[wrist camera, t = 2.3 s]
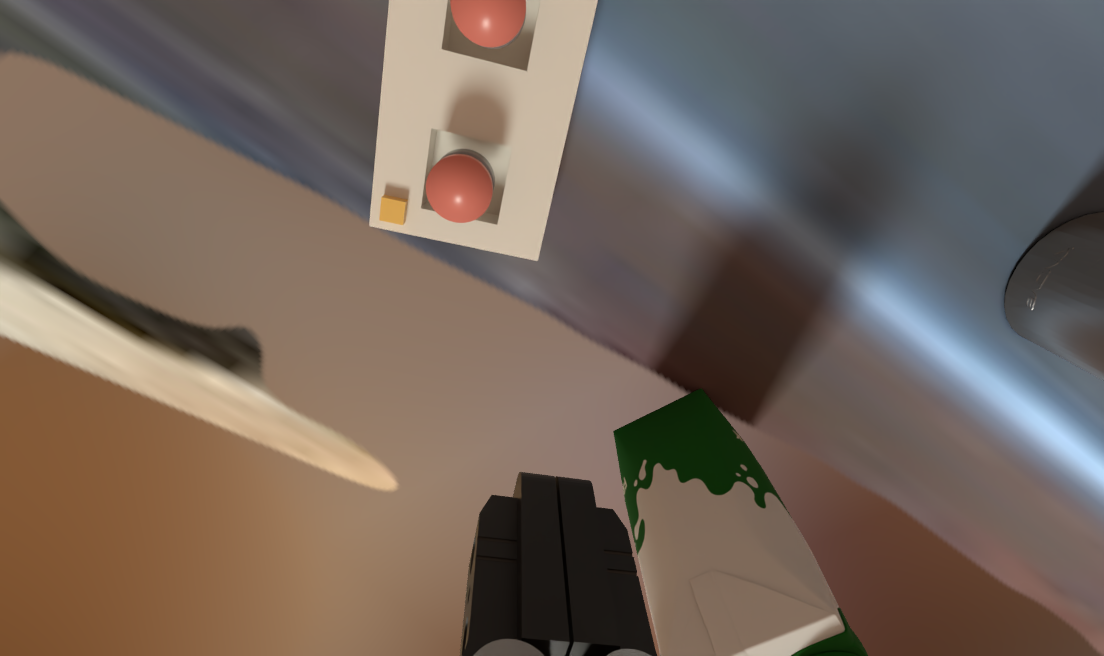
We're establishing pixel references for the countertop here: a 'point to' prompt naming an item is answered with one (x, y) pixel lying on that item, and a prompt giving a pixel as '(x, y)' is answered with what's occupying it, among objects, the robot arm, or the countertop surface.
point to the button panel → (477, 118)
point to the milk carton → (721, 543)
